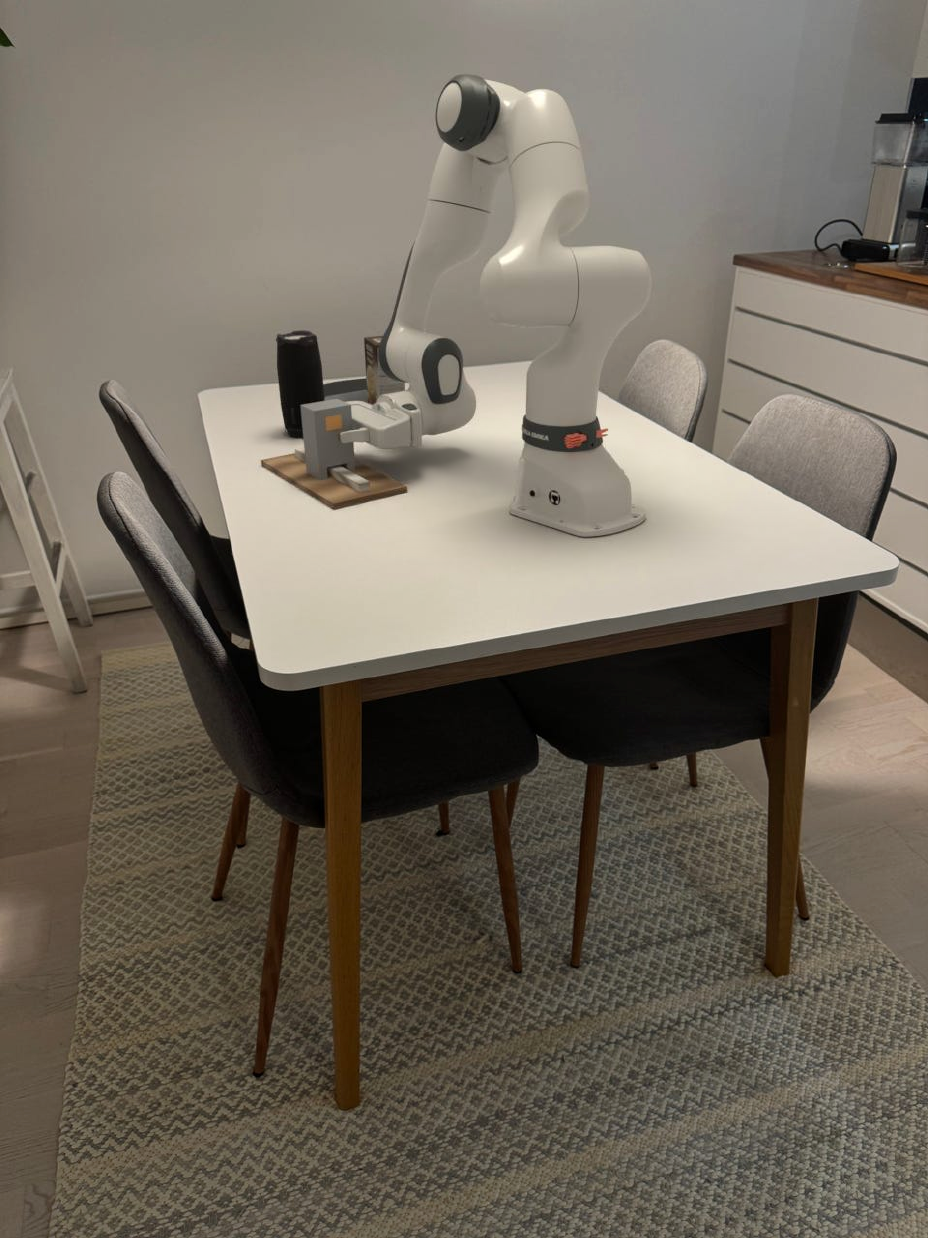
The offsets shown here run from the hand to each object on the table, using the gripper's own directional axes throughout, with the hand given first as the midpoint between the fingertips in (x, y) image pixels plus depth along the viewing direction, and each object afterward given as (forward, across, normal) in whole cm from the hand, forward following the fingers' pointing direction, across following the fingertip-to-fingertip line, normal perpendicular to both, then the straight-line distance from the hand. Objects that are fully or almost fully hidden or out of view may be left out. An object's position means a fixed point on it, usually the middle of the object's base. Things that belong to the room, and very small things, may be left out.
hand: (326, 431), depth 158 cm
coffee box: (-29, -29, +9) cm, 42 cm away
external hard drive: (-29, -44, +9) cm, 54 cm away
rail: (0, 0, +8) cm, 9 cm away
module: (0, 0, +8) cm, 8 cm away
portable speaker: (-9, -28, +9) cm, 31 cm away
